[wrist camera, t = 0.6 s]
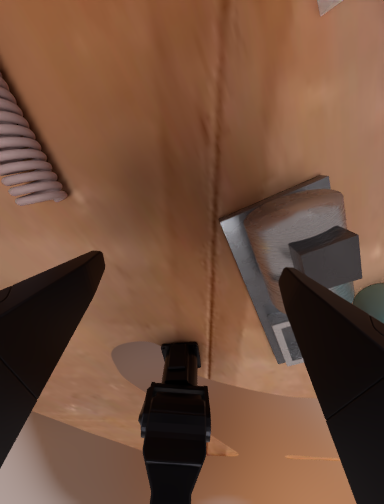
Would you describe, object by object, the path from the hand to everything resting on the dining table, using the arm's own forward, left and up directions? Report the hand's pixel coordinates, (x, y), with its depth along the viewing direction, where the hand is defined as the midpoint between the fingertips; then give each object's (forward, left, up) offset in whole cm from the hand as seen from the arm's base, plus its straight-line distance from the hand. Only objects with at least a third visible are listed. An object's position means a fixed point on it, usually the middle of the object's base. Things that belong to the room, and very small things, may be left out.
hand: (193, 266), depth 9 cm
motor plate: (-13, -13, -15) cm, 24 cm away
